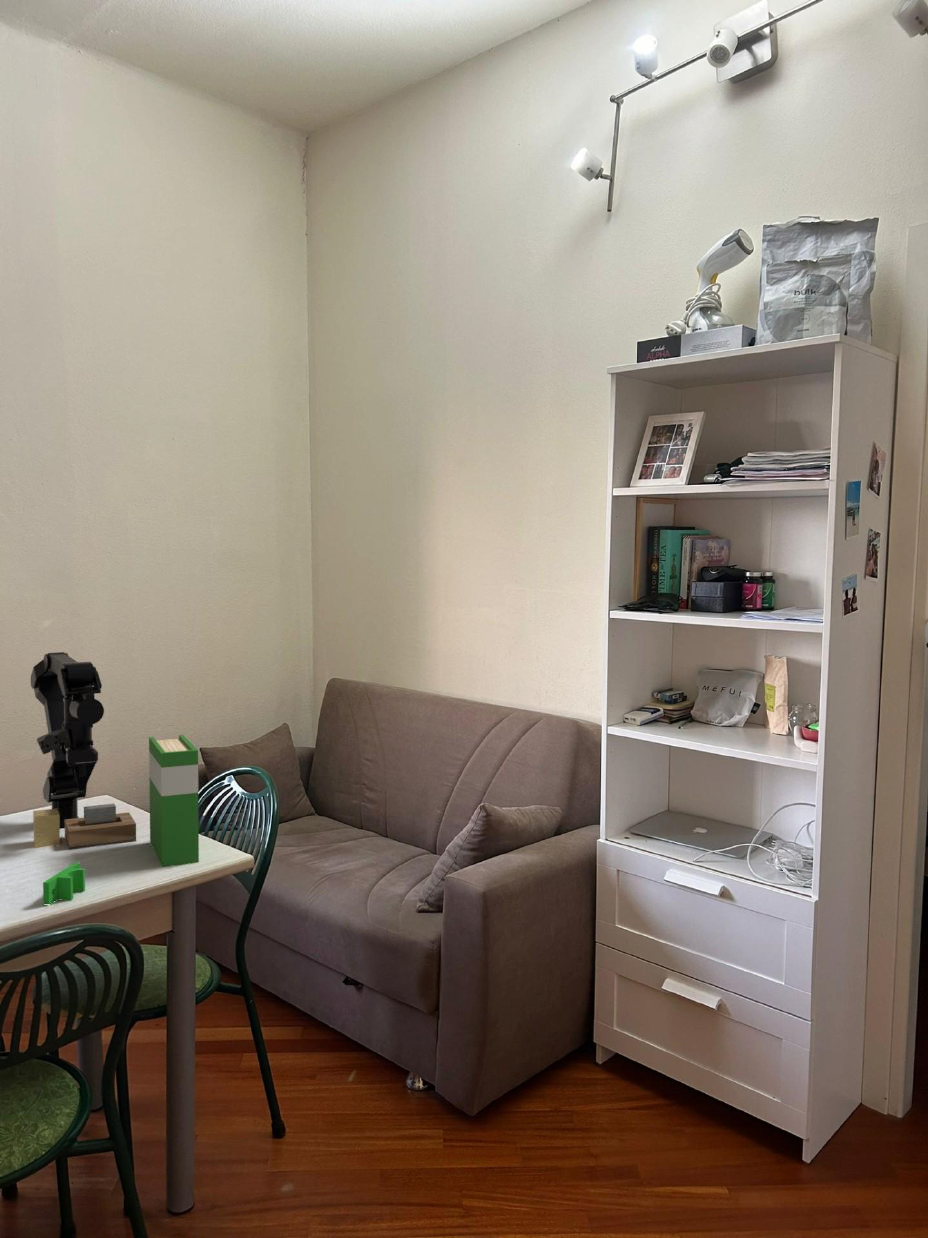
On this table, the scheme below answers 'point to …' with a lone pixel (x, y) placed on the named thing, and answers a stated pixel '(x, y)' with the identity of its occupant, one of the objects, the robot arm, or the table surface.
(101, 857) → the table surface
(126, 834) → the socket block
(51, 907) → the table surface
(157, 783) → the hardback book
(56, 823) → the square bit
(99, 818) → the block
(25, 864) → the table surface
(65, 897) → the green finned bracket
